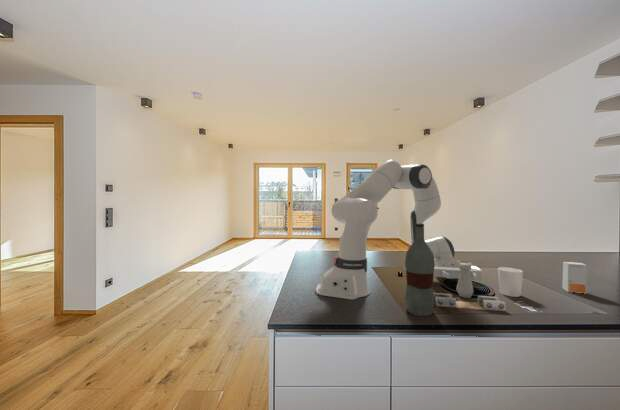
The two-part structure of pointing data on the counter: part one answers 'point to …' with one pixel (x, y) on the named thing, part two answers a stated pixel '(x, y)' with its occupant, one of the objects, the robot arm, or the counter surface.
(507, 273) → the white cup
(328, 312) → the counter surface
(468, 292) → the salt shaker
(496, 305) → the chain end
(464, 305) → the pad
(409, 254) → the bottle
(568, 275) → the skincare box
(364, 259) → the robot arm
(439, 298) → the chain end
